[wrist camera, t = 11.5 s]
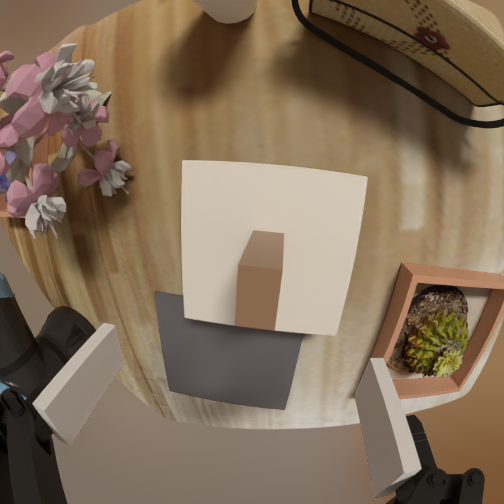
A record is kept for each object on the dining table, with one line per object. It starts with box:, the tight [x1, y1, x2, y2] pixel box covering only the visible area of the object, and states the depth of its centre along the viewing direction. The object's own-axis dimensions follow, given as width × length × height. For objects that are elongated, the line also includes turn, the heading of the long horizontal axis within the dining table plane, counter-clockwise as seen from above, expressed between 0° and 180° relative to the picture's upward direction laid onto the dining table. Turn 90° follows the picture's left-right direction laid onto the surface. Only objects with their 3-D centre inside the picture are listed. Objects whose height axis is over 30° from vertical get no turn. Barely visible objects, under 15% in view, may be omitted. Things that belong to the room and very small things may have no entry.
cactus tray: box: [371, 263, 504, 399], centre depth 34 cm, size 22×23×4 cm
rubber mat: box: [155, 291, 303, 410], centre depth 41 cm, size 22×22×1 cm
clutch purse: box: [292, 0, 504, 128], centre depth 17 cm, size 30×7×15 cm, turn 70°
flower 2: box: [0, 44, 133, 240], centre depth 23 cm, size 20×22×25 cm
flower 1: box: [0, 151, 26, 202], centre depth 31 cm, size 9×9×10 cm
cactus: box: [387, 285, 471, 379], centre depth 31 cm, size 17×16×10 cm
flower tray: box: [0, 121, 49, 218], centre depth 33 cm, size 15×16×4 cm
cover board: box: [181, 160, 368, 336], centre depth 24 cm, size 18×18×10 cm
